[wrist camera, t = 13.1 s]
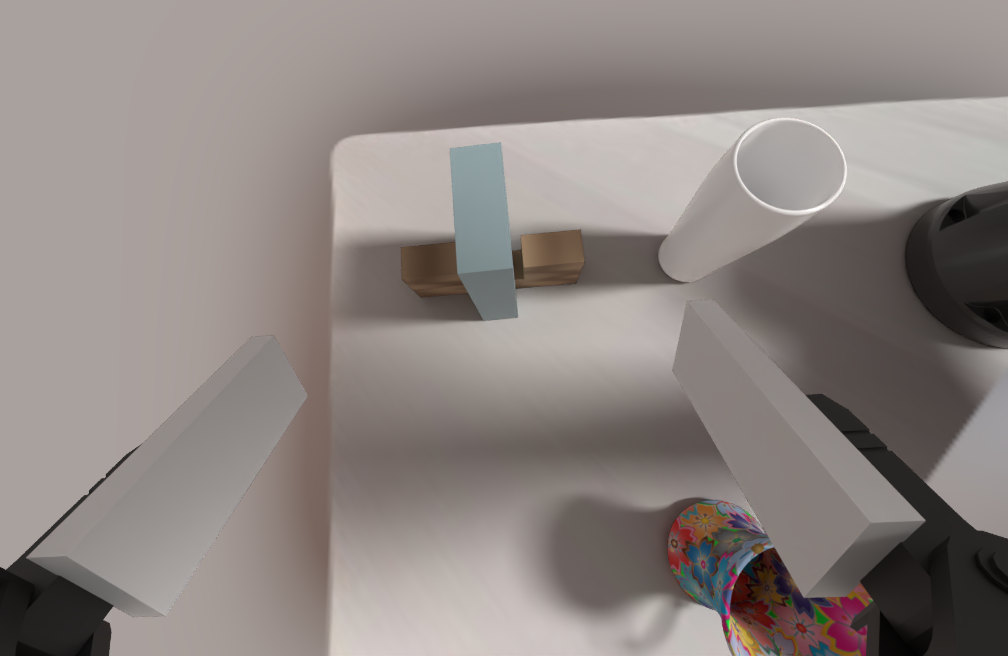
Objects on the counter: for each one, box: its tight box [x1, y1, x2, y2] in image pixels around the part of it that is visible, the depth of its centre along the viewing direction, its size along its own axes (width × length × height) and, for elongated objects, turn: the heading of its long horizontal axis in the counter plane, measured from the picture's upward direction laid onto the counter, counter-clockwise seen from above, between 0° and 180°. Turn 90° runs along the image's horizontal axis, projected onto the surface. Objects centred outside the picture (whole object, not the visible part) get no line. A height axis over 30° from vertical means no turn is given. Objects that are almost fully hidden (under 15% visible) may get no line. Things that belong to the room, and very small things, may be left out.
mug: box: [668, 500, 873, 656], centre depth 26 cm, size 12×9×11 cm
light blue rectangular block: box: [450, 142, 518, 321], centre depth 30 cm, size 4×9×14 cm, turn 5°
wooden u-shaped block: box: [401, 230, 585, 297], centre depth 34 cm, size 16×3×6 cm, turn 94°
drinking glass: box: [658, 118, 847, 282], centre depth 29 cm, size 7×7×15 cm
